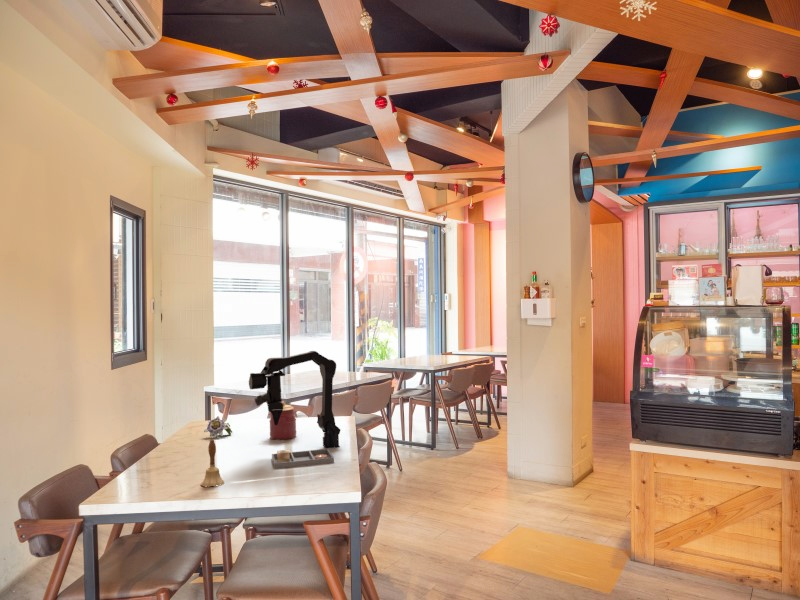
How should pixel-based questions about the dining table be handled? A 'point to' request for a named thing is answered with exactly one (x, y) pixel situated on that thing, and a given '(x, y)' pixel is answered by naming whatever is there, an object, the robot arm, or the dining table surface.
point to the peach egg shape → (320, 456)
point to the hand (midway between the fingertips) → (275, 423)
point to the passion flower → (217, 427)
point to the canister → (284, 424)
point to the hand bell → (212, 469)
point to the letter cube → (283, 456)
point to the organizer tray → (304, 458)
